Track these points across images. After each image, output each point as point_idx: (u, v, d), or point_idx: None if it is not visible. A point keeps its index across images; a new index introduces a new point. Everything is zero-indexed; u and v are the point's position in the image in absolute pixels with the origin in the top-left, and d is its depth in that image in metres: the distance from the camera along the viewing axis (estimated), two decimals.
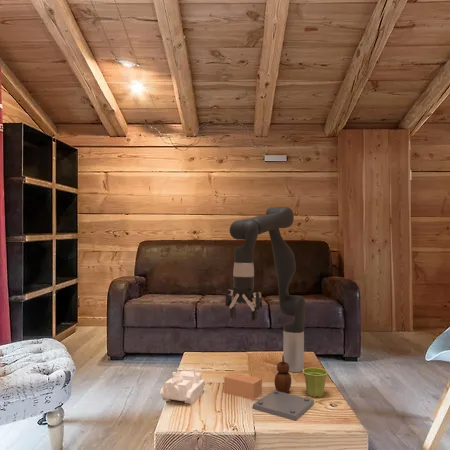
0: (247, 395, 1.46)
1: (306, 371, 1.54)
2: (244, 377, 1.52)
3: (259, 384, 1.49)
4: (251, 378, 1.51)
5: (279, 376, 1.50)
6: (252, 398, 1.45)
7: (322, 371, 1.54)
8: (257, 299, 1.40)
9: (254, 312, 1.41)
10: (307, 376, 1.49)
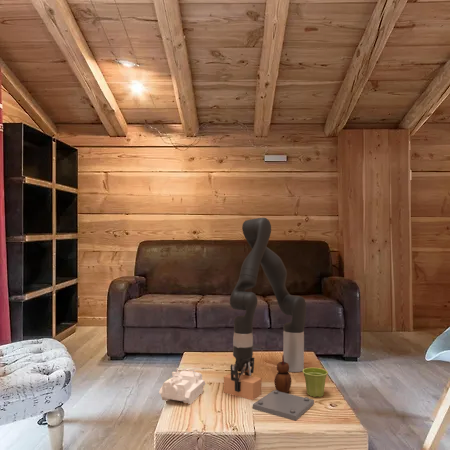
0: (247, 394, 1.46)
1: (306, 371, 1.54)
2: (244, 377, 1.52)
3: (259, 383, 1.49)
4: (251, 378, 1.51)
5: (279, 376, 1.50)
6: (252, 398, 1.45)
7: (322, 371, 1.54)
8: (253, 363, 1.56)
9: None
10: (307, 376, 1.49)
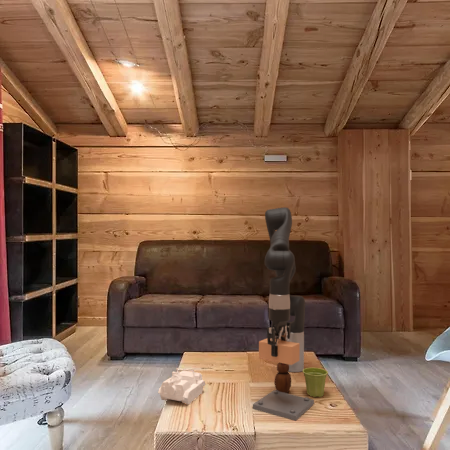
0: (285, 359, 1.36)
1: (306, 371, 1.54)
2: (280, 342, 1.42)
3: (297, 348, 1.39)
4: (288, 342, 1.41)
5: (279, 376, 1.50)
6: (290, 362, 1.35)
7: (322, 371, 1.54)
8: (289, 328, 1.46)
9: None
10: (307, 376, 1.49)
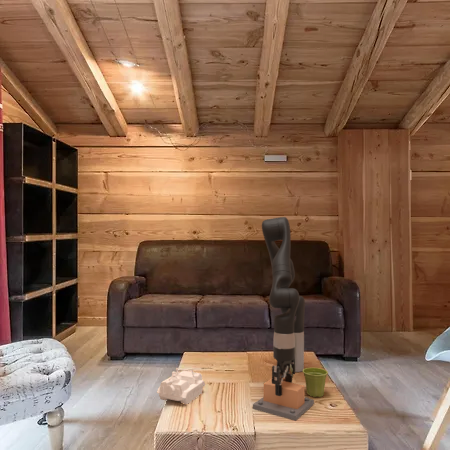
0: (290, 403, 1.35)
1: (306, 371, 1.54)
2: (285, 384, 1.40)
3: (302, 391, 1.38)
4: (293, 385, 1.39)
5: None
6: (296, 407, 1.34)
7: (322, 371, 1.54)
8: (294, 364, 1.45)
9: (291, 378, 1.43)
10: (307, 376, 1.49)
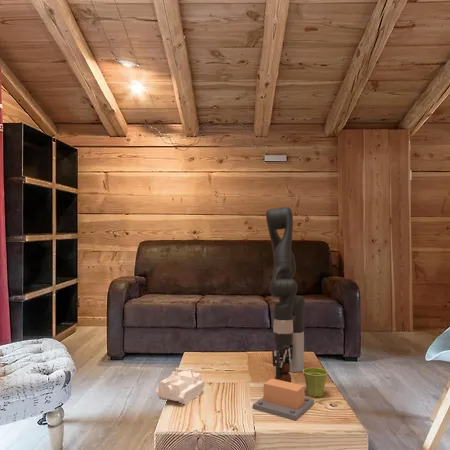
0: (290, 403, 1.35)
1: (306, 371, 1.54)
2: (285, 384, 1.40)
3: (302, 391, 1.38)
4: (293, 385, 1.39)
5: None
6: (296, 407, 1.34)
7: (322, 371, 1.54)
8: (292, 350, 1.58)
9: None
10: (307, 376, 1.49)
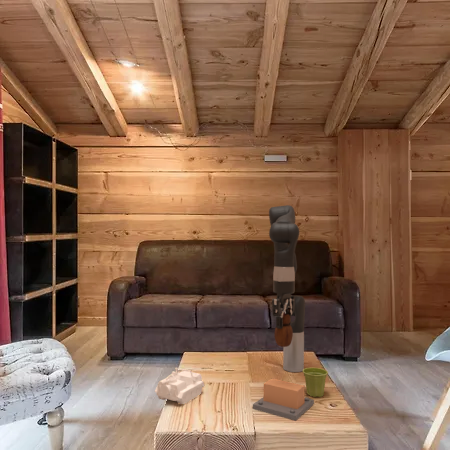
0: (290, 403, 1.35)
1: (306, 371, 1.54)
2: (285, 384, 1.40)
3: (302, 391, 1.38)
4: (293, 385, 1.39)
5: None
6: (296, 407, 1.34)
7: (322, 371, 1.54)
8: (294, 302, 1.45)
9: (290, 315, 1.44)
10: (307, 376, 1.49)
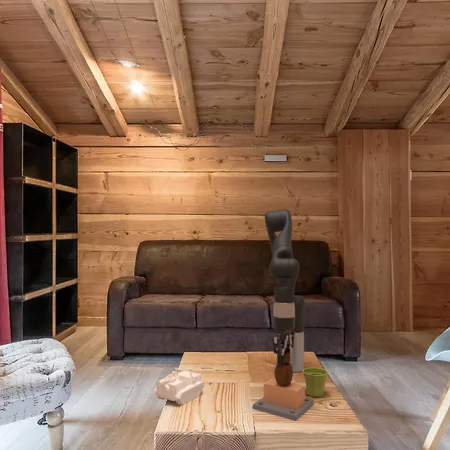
0: (290, 403, 1.35)
1: (306, 371, 1.54)
2: None
3: (303, 391, 1.38)
4: (293, 385, 1.39)
5: (279, 368, 1.37)
6: (296, 407, 1.34)
7: (322, 371, 1.54)
8: (293, 338, 1.44)
9: (289, 352, 1.43)
10: (307, 376, 1.49)
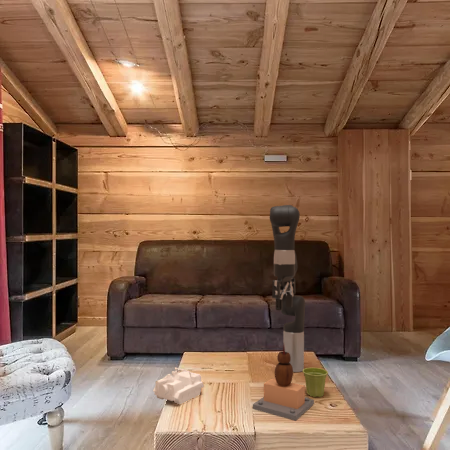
0: (290, 403, 1.35)
1: (306, 371, 1.54)
2: None
3: (303, 391, 1.38)
4: (293, 385, 1.39)
5: (280, 367, 1.38)
6: (296, 406, 1.34)
7: (322, 371, 1.54)
8: (294, 284, 1.46)
9: None
10: (307, 376, 1.49)
